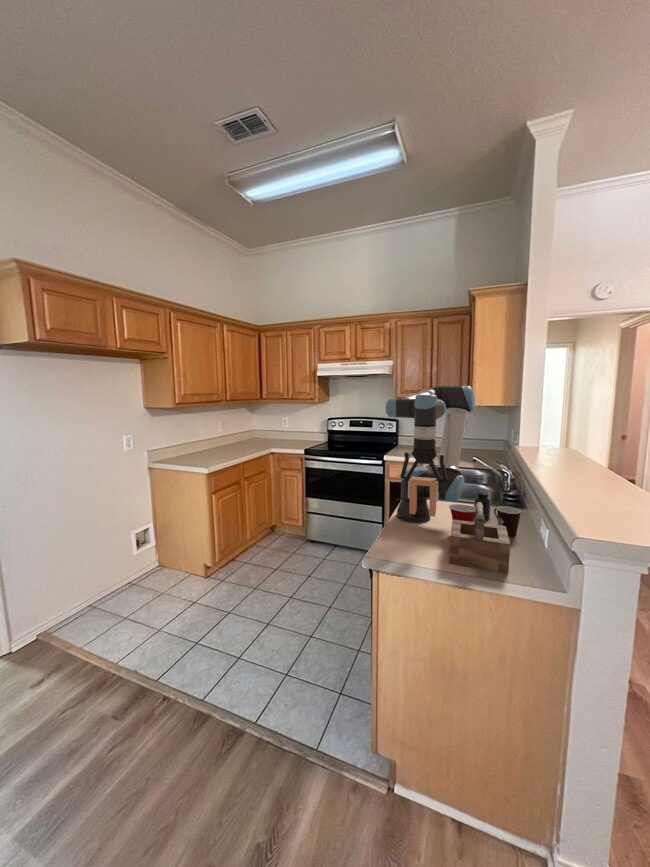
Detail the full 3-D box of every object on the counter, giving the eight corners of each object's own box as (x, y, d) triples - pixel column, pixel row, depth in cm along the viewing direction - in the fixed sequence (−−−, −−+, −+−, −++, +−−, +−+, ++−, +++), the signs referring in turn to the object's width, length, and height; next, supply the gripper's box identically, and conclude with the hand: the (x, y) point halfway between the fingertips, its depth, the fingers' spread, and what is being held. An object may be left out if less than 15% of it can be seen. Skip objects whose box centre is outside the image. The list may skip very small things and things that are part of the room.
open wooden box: (451, 544, 135) (453, 499, 133) (504, 552, 128) (507, 504, 126) (449, 563, 120) (451, 512, 118) (508, 573, 113) (511, 520, 111)
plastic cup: (475, 531, 147) (476, 503, 146) (477, 542, 137) (479, 512, 135) (447, 528, 151) (449, 501, 149) (447, 538, 140) (449, 509, 139)
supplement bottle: (470, 515, 166) (471, 490, 164) (484, 515, 166) (486, 490, 165) (478, 520, 159) (479, 495, 158) (492, 520, 160) (494, 494, 158)
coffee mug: (522, 538, 140) (524, 514, 139) (498, 536, 142) (500, 512, 141) (513, 527, 151) (514, 504, 150) (491, 525, 153) (492, 503, 152)
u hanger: (411, 509, 134) (411, 476, 132) (435, 512, 130) (437, 478, 129) (409, 513, 130) (410, 479, 128) (434, 516, 127) (436, 481, 125)
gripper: (392, 437, 127) (391, 498, 130) (456, 440, 119) (454, 505, 122) (396, 435, 134) (395, 492, 137) (457, 437, 126) (455, 498, 129)
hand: (423, 498), depth 129 cm, fingers closed on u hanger, 9 cm apart
